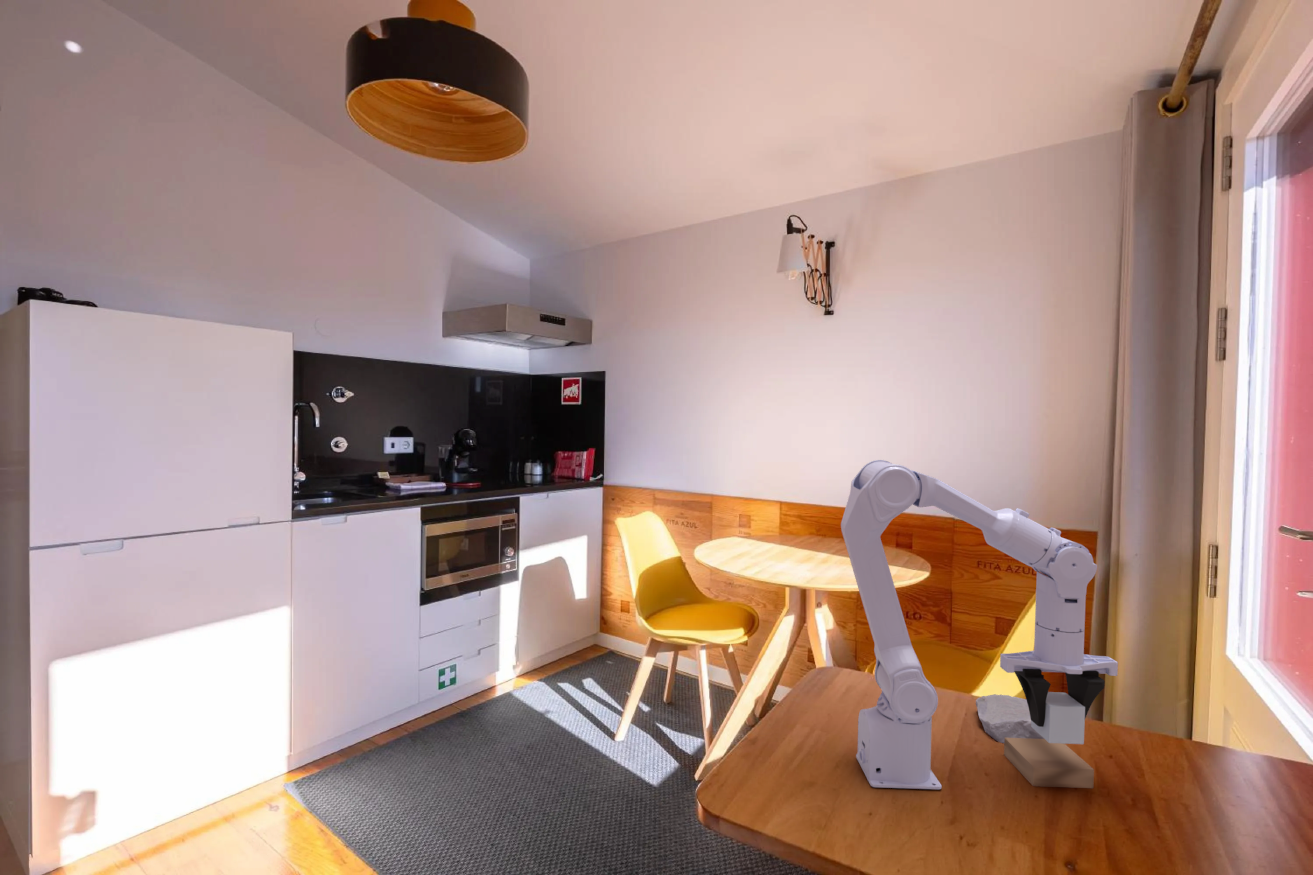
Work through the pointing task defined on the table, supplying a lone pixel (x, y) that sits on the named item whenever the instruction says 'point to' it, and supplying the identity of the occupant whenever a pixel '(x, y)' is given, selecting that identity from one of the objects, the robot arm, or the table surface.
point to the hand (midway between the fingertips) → (1056, 723)
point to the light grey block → (1062, 720)
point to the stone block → (1005, 717)
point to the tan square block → (1048, 763)
